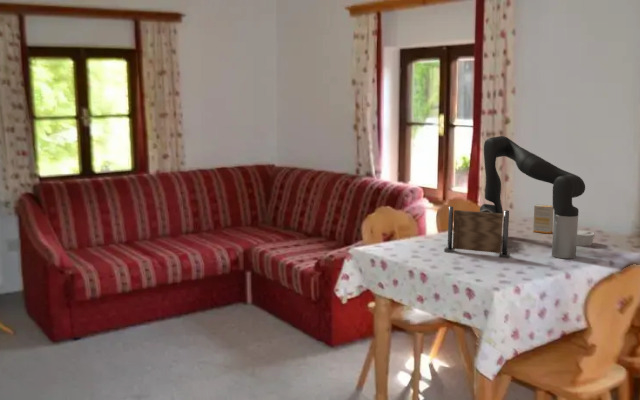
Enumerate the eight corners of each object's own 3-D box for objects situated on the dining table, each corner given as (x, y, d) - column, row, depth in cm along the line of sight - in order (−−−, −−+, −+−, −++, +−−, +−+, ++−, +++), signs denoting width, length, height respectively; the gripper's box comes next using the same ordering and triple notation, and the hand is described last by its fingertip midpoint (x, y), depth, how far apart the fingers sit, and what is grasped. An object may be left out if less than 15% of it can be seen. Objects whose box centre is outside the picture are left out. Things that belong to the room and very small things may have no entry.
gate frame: (509, 256, 272) (511, 210, 269) (508, 258, 268) (510, 211, 265) (446, 249, 282) (447, 205, 279) (444, 251, 279) (445, 207, 276)
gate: (501, 252, 272) (502, 213, 270) (500, 253, 270) (501, 214, 267) (453, 247, 280) (455, 210, 277) (452, 248, 278) (454, 211, 275)
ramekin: (596, 247, 288) (597, 235, 287) (569, 246, 290) (569, 234, 289) (591, 241, 299) (592, 230, 298) (565, 240, 301) (565, 229, 300)
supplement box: (552, 232, 319) (554, 205, 317) (550, 234, 315) (551, 206, 313) (535, 230, 323) (536, 203, 321) (532, 232, 319) (534, 205, 317)
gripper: (470, 208, 297) (462, 215, 281) (500, 211, 292) (494, 218, 276) (469, 225, 298) (461, 233, 283) (499, 228, 293) (493, 236, 278)
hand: (477, 226), depth 279 cm, fingers closed
